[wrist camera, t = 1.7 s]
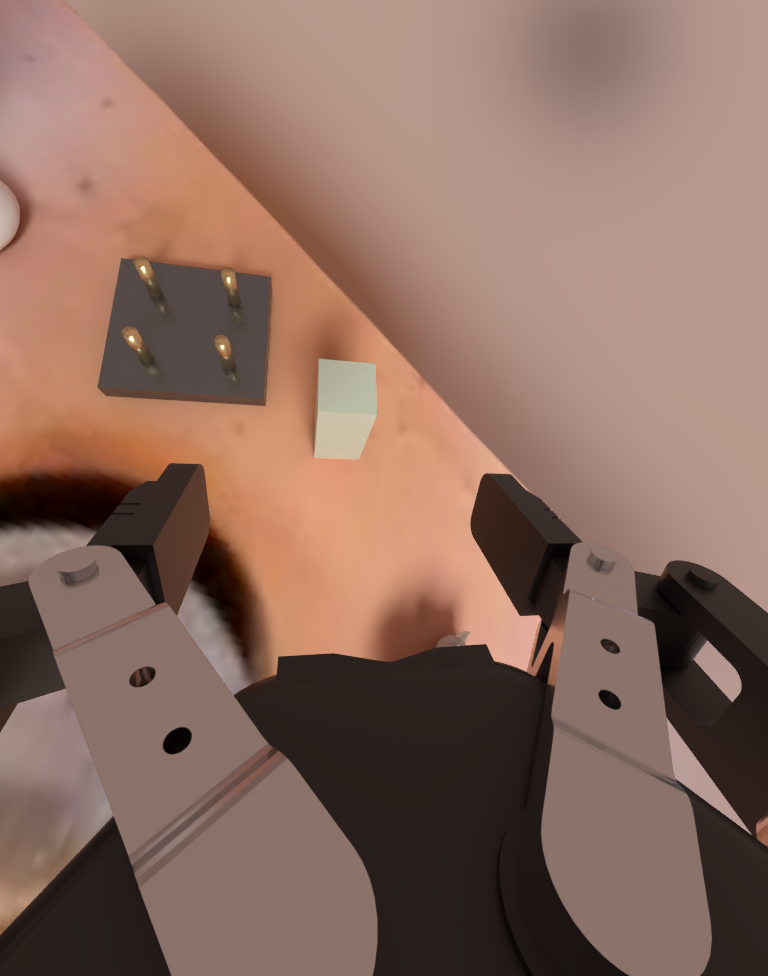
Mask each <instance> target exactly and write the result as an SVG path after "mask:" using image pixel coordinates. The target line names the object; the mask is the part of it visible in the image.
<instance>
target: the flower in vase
mask: <svg viewBox="0 0 768 976" xmlns="http://www.w3.org/2000/svg"><path fill="white" fill-rule="evenodd" d="M19 222H20V208H19V204H18V201H17V198H16V197H15V195H14V193H13V192H12V191H11V190H10V188H9V187H8V186H7V185H6V184H4V183H3V182H2V181H1V180H0V250H2V249H3V248H4V247H5V246H7V245H8V244H9V243H10V241H11V240H12V239H13V238H14V236H15V235H16V232H17V230H18V227H19Z"/></svg>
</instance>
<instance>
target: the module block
mask: <svg viewBox="0 0 768 976" xmlns="http://www.w3.org/2000/svg"><path fill="white" fill-rule="evenodd" d="M376 416H377V398H376V364H375V363H363V362H352V361H340V360H329V359H319V361H318V376H317V391H316V406H315V434H314V458H335V459H359V458H360V456H361V453H362V451H363V448H364V446H365V443H366V441H367V438H368V436H369V433H370V431H371V428H372V426H373V424H374V421H375V419H376Z"/></svg>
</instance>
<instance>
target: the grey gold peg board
mask: <svg viewBox="0 0 768 976" xmlns="http://www.w3.org/2000/svg"><path fill="white" fill-rule="evenodd" d="M271 296H272V284H271V277H266V276H258V275H250V274H242V273H235V272H234V271H233V270H232V269H231V268H224V269H222V270H221V271H218V270H210V269H202V268H194V267H186V266H178V265H170V264H162V263H154V262H149V261H148V259H146V258H145V257H137V258H136V259H135V260H130V259H122V258H121V263H120V269H119V274H118V280H117V285H116V290H115V296H114V301H113V307H112V312H111V318H110V323H109V329H108V334H107V339H106V345H105V350H104V356H103V361H102V367H101V372H100V377H99V383H98V388H99V389H100V390H101V391H102V392H103V393H104V394H105V395H106V396H118V397H134V398H149V399H165V400H181V401H197V402H213V403H229V404H245V405H261V406H265V404H266V386H267V368H268V350H269V332H270V314H271Z"/></svg>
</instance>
